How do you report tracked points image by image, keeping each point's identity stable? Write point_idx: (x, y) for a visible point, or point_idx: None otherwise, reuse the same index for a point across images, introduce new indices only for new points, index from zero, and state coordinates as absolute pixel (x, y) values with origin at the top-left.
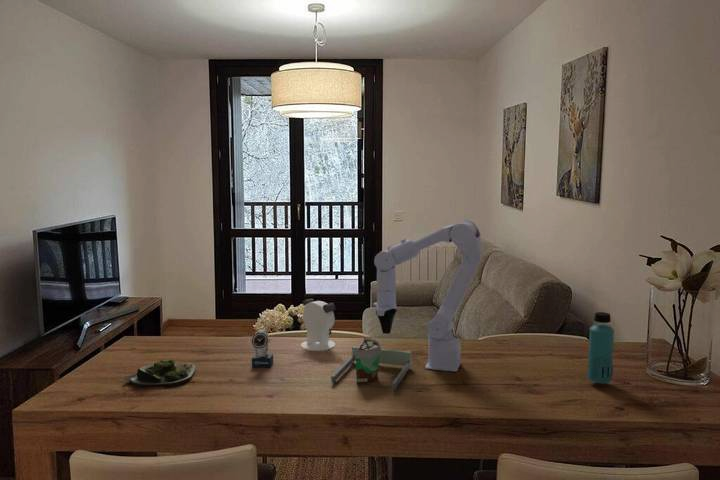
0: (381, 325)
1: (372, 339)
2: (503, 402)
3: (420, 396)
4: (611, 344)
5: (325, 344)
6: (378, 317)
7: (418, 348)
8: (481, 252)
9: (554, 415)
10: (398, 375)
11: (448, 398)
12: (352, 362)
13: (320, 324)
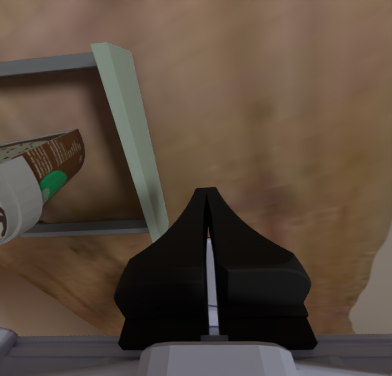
0: (185, 210)
1: (5, 213)
2: (113, 313)
3: (57, 255)
4: None
5: None
6: (151, 246)
7: (315, 200)
8: None
9: (112, 334)
10: (62, 233)
11: (80, 279)
12: (94, 68)
13: None
